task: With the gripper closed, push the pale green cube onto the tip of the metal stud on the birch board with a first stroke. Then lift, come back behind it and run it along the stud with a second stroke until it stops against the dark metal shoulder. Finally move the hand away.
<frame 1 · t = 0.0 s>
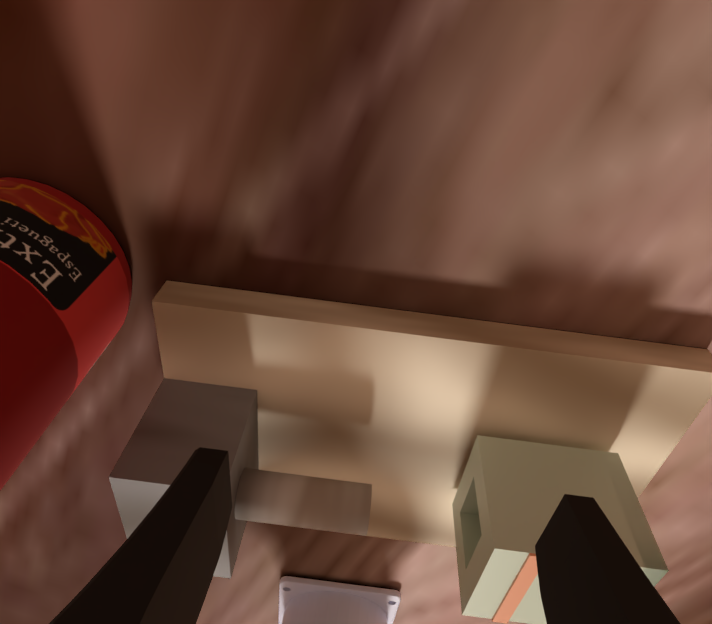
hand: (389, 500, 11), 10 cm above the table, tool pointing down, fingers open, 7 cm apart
canned food: (47, 261, 21), on the table
pale green cube: (542, 533, 21), point 5 cm above the table, slide at 0.0 cm
stud board: (408, 430, 24), on the table
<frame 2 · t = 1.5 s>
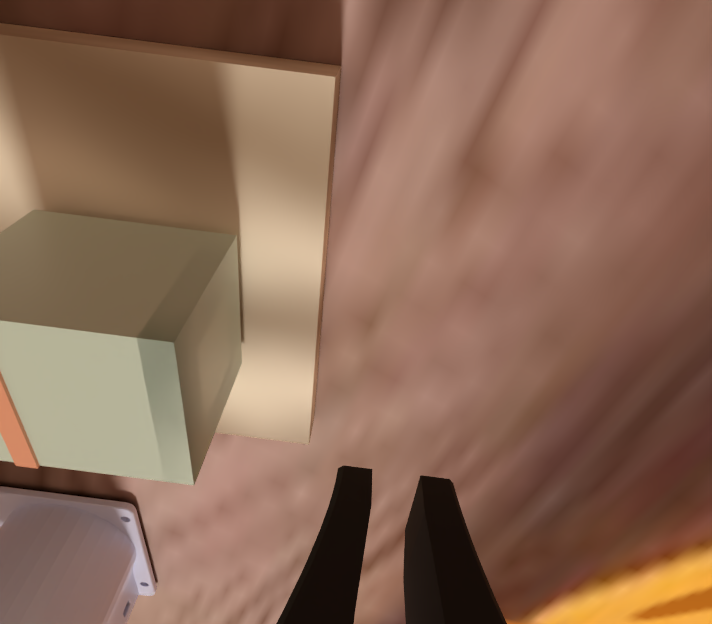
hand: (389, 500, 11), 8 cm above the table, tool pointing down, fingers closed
pale green cube: (109, 342, 14), point 5 cm above the table, slide at 0.0 cm
stud board: (16, 242, 18), on the table
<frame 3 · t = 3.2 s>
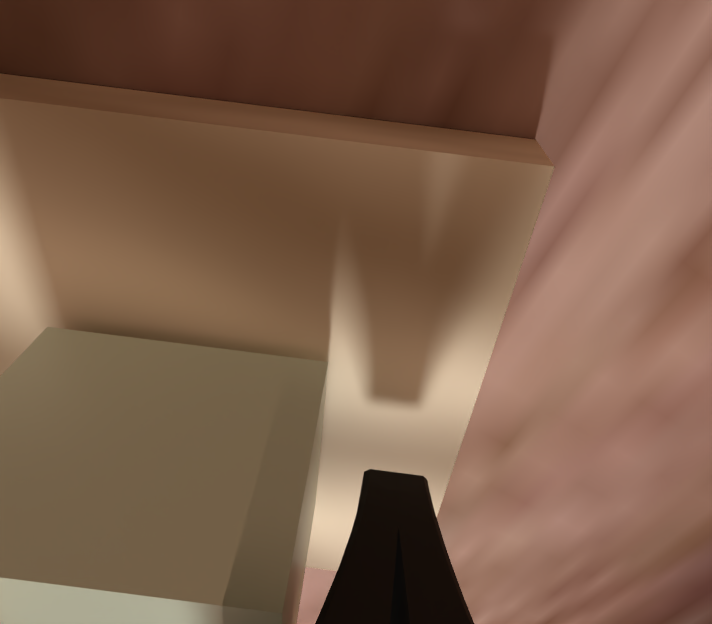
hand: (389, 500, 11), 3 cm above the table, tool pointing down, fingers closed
pale green cube: (155, 521, 10), point 5 cm above the table, slide at 1.0 cm, touching gripper
stud board: (56, 347, 14), on the table
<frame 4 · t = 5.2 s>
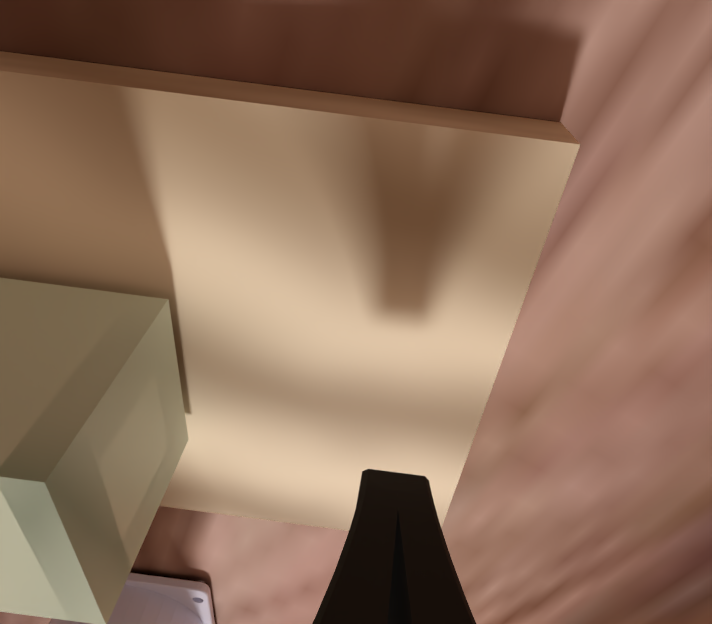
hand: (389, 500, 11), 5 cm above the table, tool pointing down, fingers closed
pale green cube: (4, 438, 11), point 5 cm above the table, slide at 5.7 cm
stud board: (109, 318, 15), on the table
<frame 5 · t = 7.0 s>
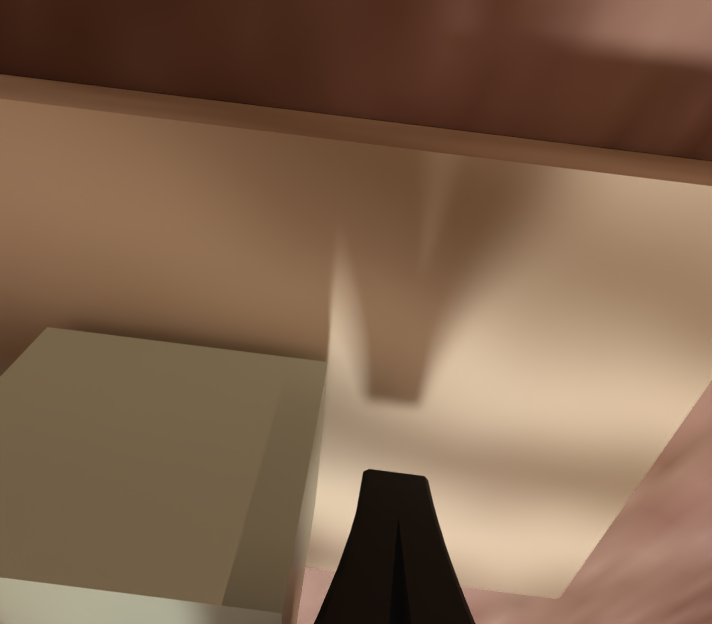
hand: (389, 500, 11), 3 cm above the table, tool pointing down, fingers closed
pale green cube: (155, 521, 10), point 5 cm above the table, slide at 5.7 cm, touching gripper
stud board: (229, 369, 14), on the table
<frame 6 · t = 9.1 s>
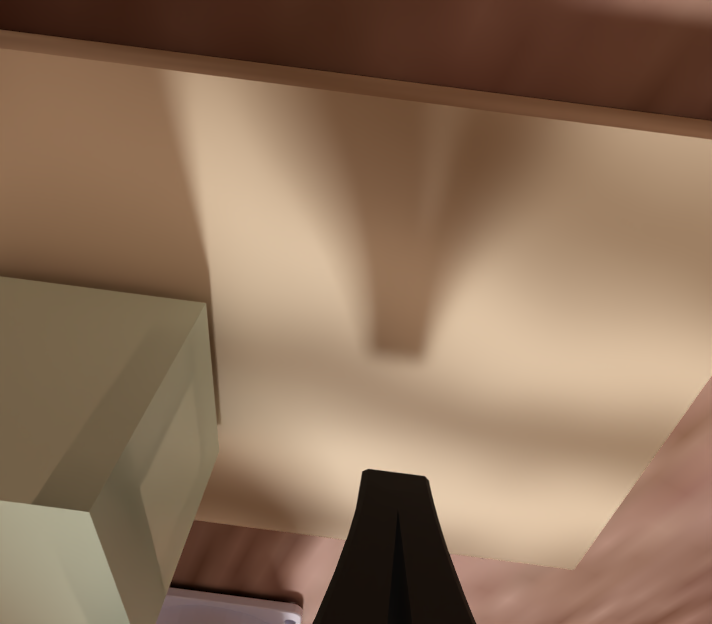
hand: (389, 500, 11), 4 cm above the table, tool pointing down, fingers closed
pale green cube: (30, 454, 10), point 5 cm above the table, slide at 9.0 cm
stud board: (254, 337, 14), on the table
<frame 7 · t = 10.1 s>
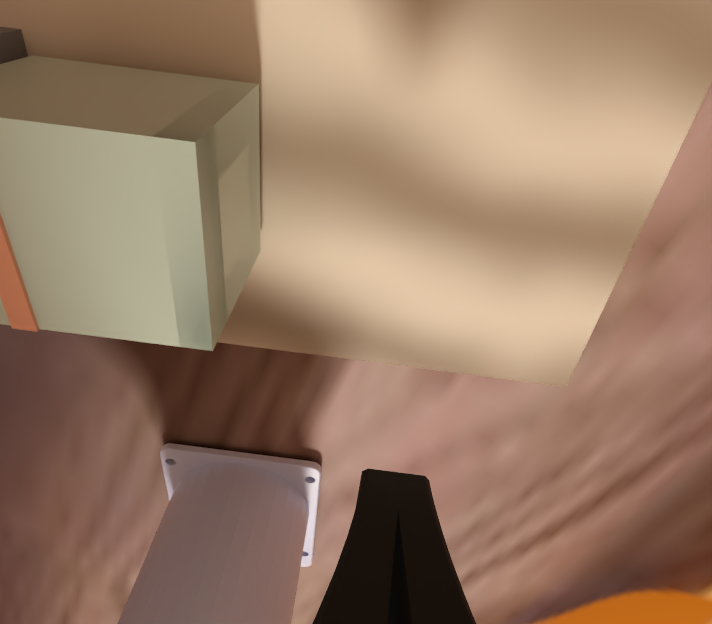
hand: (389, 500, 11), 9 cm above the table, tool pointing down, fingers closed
pale green cube: (117, 197, 13), point 5 cm above the table, slide at 9.0 cm
stud board: (290, 155, 16), on the table
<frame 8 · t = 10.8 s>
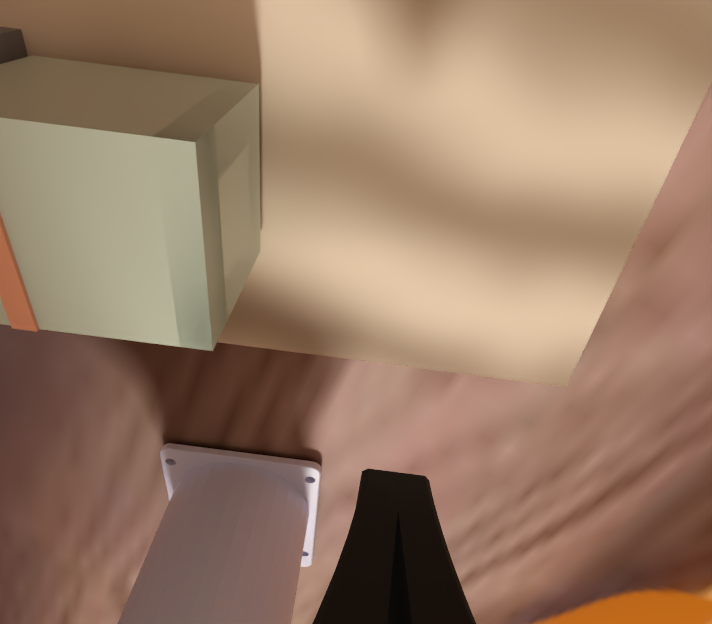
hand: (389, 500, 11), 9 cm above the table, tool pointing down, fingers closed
pale green cube: (117, 197, 13), point 5 cm above the table, slide at 9.0 cm
stud board: (290, 155, 16), on the table
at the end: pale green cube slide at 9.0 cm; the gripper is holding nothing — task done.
